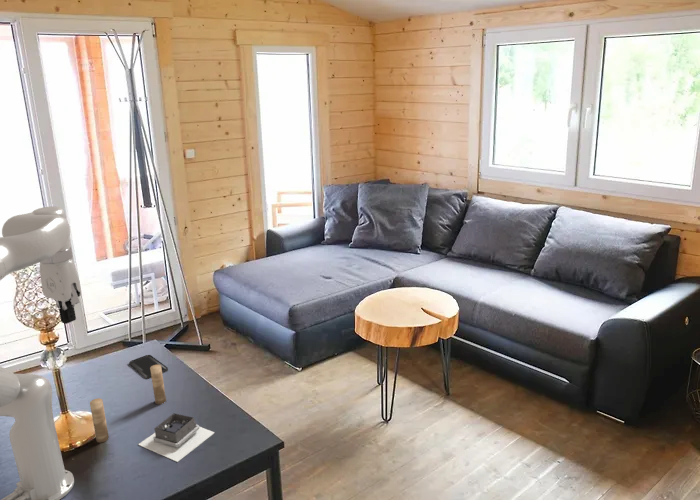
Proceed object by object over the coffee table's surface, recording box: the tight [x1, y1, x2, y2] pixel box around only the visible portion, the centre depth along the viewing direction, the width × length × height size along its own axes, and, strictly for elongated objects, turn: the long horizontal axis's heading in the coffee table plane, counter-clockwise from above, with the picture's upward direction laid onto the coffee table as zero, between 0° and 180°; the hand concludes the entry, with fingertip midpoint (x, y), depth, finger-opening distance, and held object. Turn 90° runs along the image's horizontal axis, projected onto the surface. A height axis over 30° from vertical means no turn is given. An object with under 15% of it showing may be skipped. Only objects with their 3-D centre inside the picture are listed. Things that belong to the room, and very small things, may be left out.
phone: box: [129, 354, 169, 379], centre depth 196 cm, size 8×1×15 cm
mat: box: [138, 424, 215, 463], centre depth 158 cm, size 14×15×1 cm
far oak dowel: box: [150, 365, 167, 405], centre depth 174 cm, size 3×3×12 cm
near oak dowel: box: [89, 398, 110, 443], centre depth 157 cm, size 3×3×12 cm
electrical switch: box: [153, 412, 200, 447], centre depth 158 cm, size 9×5×9 cm
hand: (68, 321), depth 150 cm, fingers closed
